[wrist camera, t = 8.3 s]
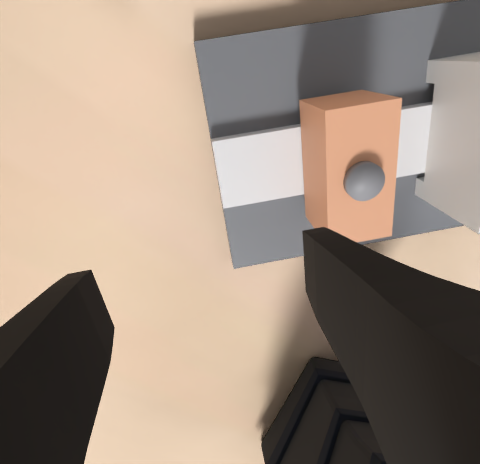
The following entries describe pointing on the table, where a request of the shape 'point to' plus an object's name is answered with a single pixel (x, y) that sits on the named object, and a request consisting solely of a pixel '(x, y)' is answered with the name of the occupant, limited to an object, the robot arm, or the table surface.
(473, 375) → the robot arm
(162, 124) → the table surface
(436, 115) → the block
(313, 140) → the block with grey knob
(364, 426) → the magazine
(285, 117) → the din rail
